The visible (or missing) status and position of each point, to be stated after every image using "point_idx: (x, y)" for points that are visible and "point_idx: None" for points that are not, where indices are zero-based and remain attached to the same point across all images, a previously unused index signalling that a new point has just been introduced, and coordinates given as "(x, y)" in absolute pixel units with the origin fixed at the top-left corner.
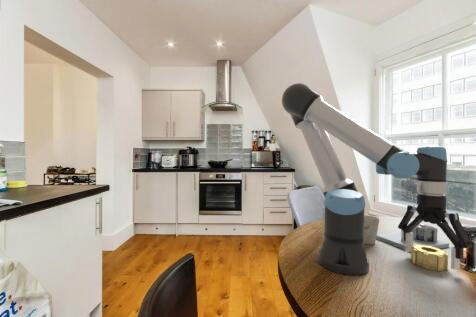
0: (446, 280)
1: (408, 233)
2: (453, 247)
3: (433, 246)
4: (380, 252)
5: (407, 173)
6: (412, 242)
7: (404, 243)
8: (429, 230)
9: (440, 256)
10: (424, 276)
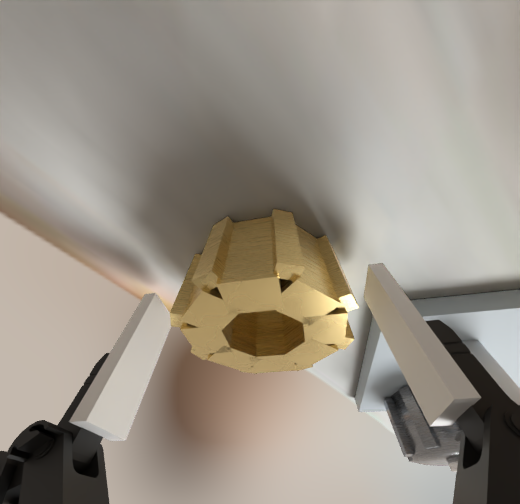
0: (107, 214)
1: (452, 403)
2: (71, 421)
3: (366, 379)
4: (510, 129)
5: None
6: (388, 339)
7: None
8: (420, 447)
9: (171, 318)
10: (126, 129)
